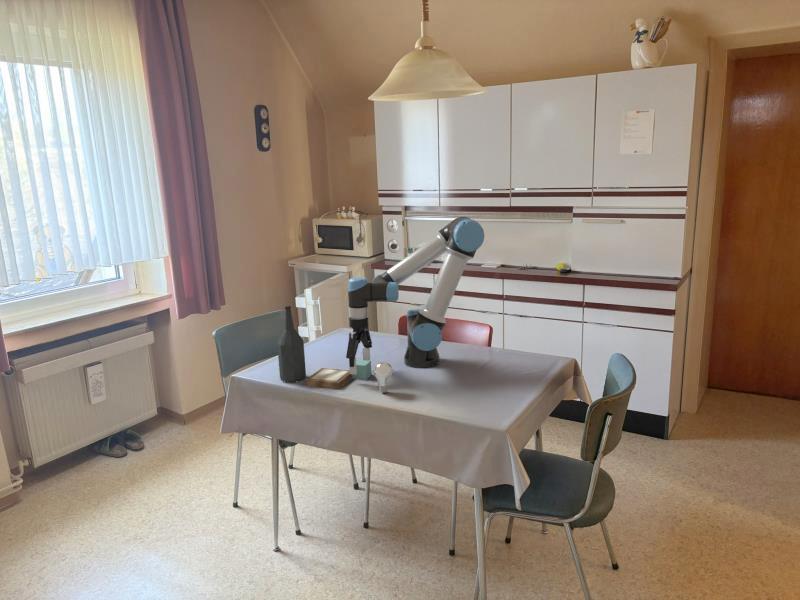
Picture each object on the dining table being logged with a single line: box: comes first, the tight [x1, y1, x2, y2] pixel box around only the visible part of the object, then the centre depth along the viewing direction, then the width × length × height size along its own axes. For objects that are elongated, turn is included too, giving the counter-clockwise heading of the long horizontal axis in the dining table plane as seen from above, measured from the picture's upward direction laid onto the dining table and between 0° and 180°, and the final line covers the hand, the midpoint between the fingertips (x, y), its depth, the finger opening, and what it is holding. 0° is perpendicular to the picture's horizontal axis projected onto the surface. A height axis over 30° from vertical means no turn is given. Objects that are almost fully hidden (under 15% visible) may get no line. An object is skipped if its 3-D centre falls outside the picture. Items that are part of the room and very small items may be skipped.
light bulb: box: [373, 361, 394, 394], centre depth 225 cm, size 7×7×12 cm
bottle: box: [276, 304, 307, 383], centre depth 241 cm, size 10×10×30 cm
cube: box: [351, 359, 372, 381], centre depth 243 cm, size 6×6×6 cm
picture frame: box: [305, 367, 353, 390], centre depth 240 cm, size 14×14×3 cm
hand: (360, 368), depth 243 cm, fingers open, 13 cm apart
